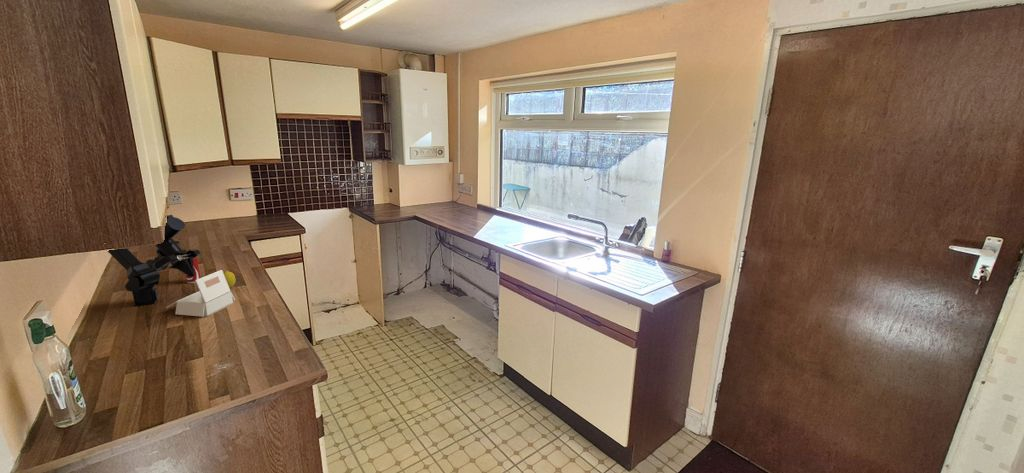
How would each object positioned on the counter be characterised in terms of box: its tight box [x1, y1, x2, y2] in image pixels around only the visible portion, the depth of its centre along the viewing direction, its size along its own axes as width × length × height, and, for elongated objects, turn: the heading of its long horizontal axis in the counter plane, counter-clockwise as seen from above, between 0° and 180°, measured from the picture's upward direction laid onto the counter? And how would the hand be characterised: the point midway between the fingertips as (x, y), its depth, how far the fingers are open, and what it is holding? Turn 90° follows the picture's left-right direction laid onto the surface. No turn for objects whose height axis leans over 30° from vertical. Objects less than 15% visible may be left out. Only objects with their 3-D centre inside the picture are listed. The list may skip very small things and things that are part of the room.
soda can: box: [184, 256, 202, 284], centre depth 185 cm, size 5×5×12 cm
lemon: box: [223, 270, 237, 289], centre depth 178 cm, size 6×6×8 cm
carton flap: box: [195, 269, 231, 303], centre depth 156 cm, size 1×12×9 cm, turn 172°
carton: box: [165, 290, 236, 317], centre depth 159 cm, size 17×15×5 cm
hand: (193, 276), depth 158 cm, fingers closed
